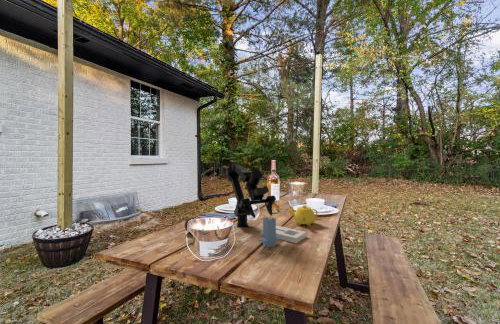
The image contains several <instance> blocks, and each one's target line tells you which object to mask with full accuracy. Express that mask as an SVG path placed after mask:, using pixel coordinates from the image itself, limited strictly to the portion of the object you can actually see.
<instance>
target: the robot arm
mask: <svg viewBox="0 0 500 324" xmlns="http://www.w3.org/2000/svg"><path fill="white" fill-rule="evenodd" d="M263 175H264V174H263V172H261V171H259V170H258V169H257V168H253V169H252V170H247V169H246V168H245V167H243V166H242V165H241V164H240V163H233V164H231V166H229V167H228V168H226V170H225V176H226V178H227V181H229V182H230V183H231V186H232V189H233V192H234V196H235V199H236V204H235V208H234V211H233V213H234V216H235V217H237V223H236V226H237V228H242V227H243V228H247V227H249V223H248V216H251V217H252V218H253V219H255V218H256V214H255V212H254V209H253V205H258V204H265V208H266V210H267V211H268V214H269V215H270V217H272V216H273V205H274V204H275V202H276V201H277V198H276V196H275V195H267V196H266V198H265V195H266V194H268V193H269V188H268V186H267V185H266V186H264V185H263V187H259V186H258V185H260V183H261V181H262V178H263ZM239 178H240V180H239ZM240 181H241V182H242V183H246V184H245V187H244V188H245V190H246V191H247V193H248V197H246V198H245V196H244V193H243V189H242V186H241V183H240Z"/></svg>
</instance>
